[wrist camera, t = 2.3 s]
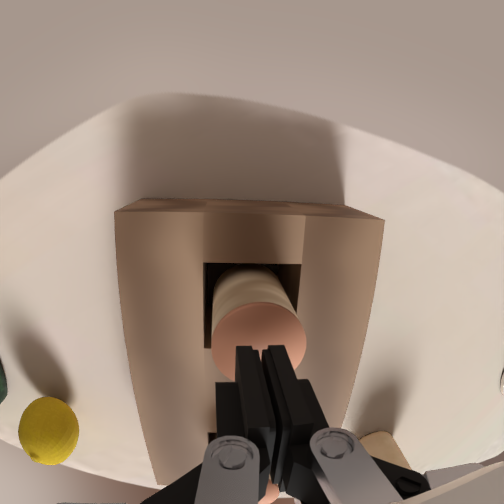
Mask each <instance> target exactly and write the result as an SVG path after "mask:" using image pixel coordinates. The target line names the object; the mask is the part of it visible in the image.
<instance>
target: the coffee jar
mask: <svg viewBox="0 0 504 504" xmlns="http://www.w3.org/2000/svg"><path fill="white" fill-rule="evenodd" d="M6 396H7V383H6V378H5V375H4V371H3V369H2V366H1V364H0V404H1V402H2V401H3V400H4V399H5V397H6Z"/></svg>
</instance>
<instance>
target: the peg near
mask: <svg viewBox="0 0 504 504" xmlns="http://www.w3.org/2000/svg"><path fill="white" fill-rule="evenodd" d="M306 343H307V342H306V335H305V331H304V329H303V327H302V325H301V323H300V321H299V319H298V317H297V315H296V313H295V311H294V309H293V307H292V305H291V303H290V301H289V299H288V297H287V295H286V293H285V291H284V289H283V287H282V285H281V283H280V281H279V279H278V277H277V276H276V275H275V274H274V273H273V272H272V271H271V270H270V269H268V268H267V267H265V266H263V265H260V264H256V263H242V264H238V265H235V266H233V267H231V268H229V269H228V270H226V271H225V272H224V273H223V274H222V275H221V276H220V277H219V279H218V280H217V282H216V284H215V287H214V291H213V312H212V343H211V351H212V357H213V360H214V362H215V365H216V366H217V368H218V369H219V370H220V371H221V373H223V374H224V375H225V376H226V377H228V378H229V379H231V380H233V381H235V356H236V346H252V348H253V350H257V349H258V351H259V355H260V359H261V356H262V350H263V349H267V348H268V345H284V346H285V348H286V350H287V353H288V356H289V358H290V361H291V364H292V366H293V369H294V370H295V369H296V368H297V367H298V365H299V364H300V362H301V361H302V359H303V357H304V354H305V351H306Z"/></svg>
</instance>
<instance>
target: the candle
mask: <svg viewBox="0 0 504 504" xmlns="http://www.w3.org/2000/svg"><path fill="white" fill-rule="evenodd" d="M359 441H360V443H361V444H362V445H363V447H364V448H365V449H366V451H367V452H368V454H369V455H371V456H373V457H376V458H379V459H381V460H384V461H387V462H390V463H392V464H395V465H398V466H401V467H404V468H407V469H410V470H412V469H411V467H410V466H409V464H408V462H407V460H406V459H405V457H404V455H403V454H402V452H401V450H400V449H399V447H398V445H397V443H396V442H395V440H394V439H393V437H392V436H391V435H390V433H388V432H385V431H379V432H374V433H371V434H369V435H367V436H365V437H363V438H361V439H360V440H359Z"/></svg>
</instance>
